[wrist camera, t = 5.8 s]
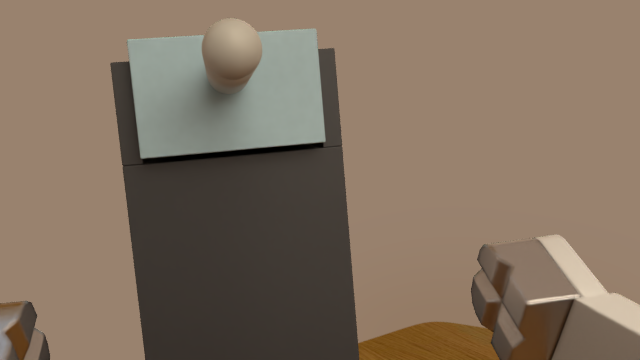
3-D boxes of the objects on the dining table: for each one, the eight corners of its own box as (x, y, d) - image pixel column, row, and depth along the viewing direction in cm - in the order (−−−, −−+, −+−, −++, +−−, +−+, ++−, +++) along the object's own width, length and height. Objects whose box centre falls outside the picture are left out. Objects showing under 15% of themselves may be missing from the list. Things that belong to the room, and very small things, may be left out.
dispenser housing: (169, 564, 31) (110, 62, 28) (182, 451, 42) (139, 80, 39) (372, 524, 33) (334, 48, 30) (334, 425, 43) (303, 69, 41)
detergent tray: (98, 175, 18) (76, -10, 18) (161, 151, 38) (151, 63, 38) (378, 148, 20) (366, -23, 19) (298, 138, 40) (290, 54, 39)
